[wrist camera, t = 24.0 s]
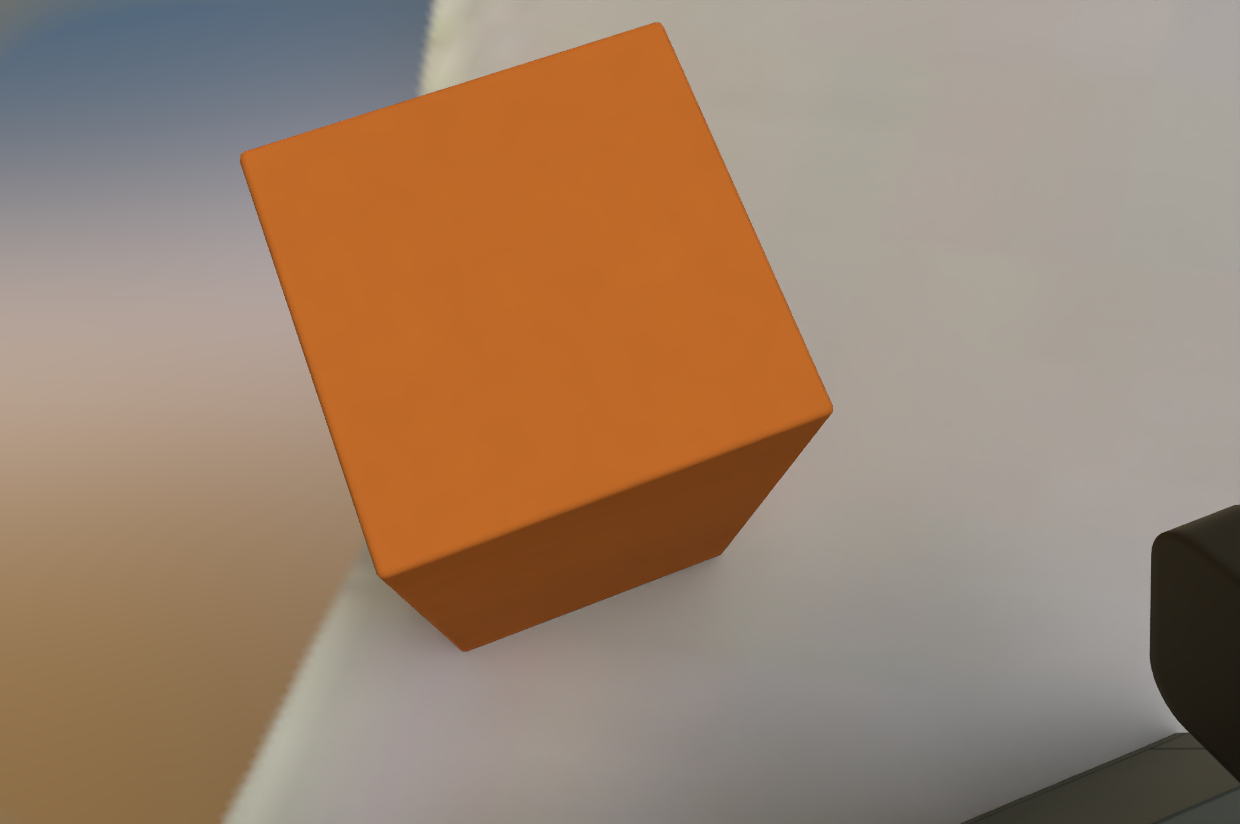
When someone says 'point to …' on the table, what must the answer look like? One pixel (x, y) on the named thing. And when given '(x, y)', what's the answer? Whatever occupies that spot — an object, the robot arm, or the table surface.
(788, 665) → the table surface
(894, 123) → the table surface
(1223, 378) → the table surface
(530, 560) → the toy block
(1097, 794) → the crate
